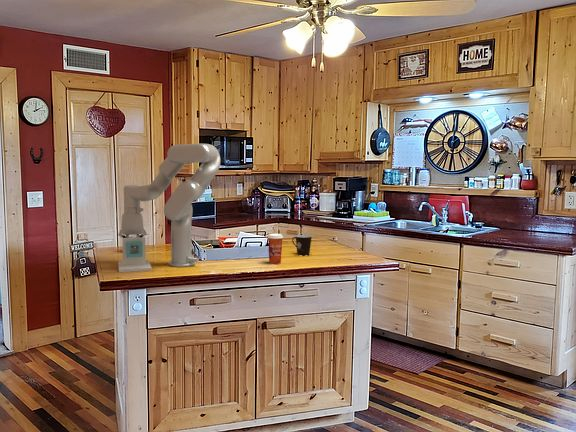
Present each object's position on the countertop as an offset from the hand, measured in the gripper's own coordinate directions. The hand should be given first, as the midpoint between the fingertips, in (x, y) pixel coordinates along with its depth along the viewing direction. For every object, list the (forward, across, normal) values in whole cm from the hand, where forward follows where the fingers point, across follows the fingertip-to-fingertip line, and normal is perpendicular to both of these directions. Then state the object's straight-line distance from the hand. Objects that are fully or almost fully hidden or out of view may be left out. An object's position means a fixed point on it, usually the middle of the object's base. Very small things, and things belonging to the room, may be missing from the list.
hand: (132, 248), depth 255 cm
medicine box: (+7, -2, -27) cm, 28 cm away
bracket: (+7, 0, +11) cm, 13 cm away
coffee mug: (+7, -87, +2) cm, 87 cm away
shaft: (-1, 0, +8) cm, 8 cm away
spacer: (+2, 0, +14) cm, 14 cm away
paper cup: (+7, -66, +19) cm, 69 cm away
